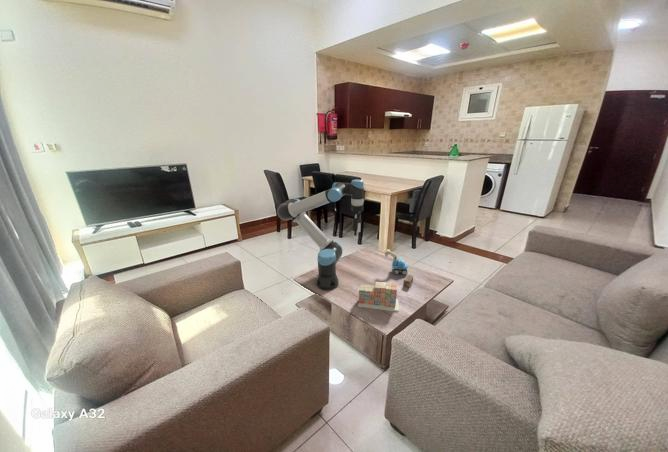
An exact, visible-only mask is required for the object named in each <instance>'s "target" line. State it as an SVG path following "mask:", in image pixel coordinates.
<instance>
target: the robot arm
mask: <svg viewBox="0 0 668 452" xmlns="http://www.w3.org/2000/svg"><path fill="white" fill-rule="evenodd" d="M364 191H365V184H364V180H363V179H352V180H351V182H341V181H340V182H339V181H337V182H333V184H332V186H331V188H329V189H327V190H324V191H322V192H319V193H316V194H314V195H311V196H308V197H306V198H302V199H299V198H295V197H294V198H290V199H288V200H286V201H284V202H282V203H281V204H279V205H278V207H277V210H276V214H277V216H278V218H279V219H280V220H282V221H289V220H291V221H292V222H293V223H297V224H298V225H299V227H301V229H302V230H303V231H304V232H305V233H306V234H307V235H308V237H310V239H311V240H312V241H313V242H314V243H315V244H316V246H318V248H319V252H318V253H317V258H316V259H317V268H318V269H317V271H318V272H317V273H318V274H317V277H316V282H315V283H316V285H315V286H316V287H317V288H318V289H320V290H323V291H332V290H334V289H336V288H338V286H339V282H340V281H339V278H338V275H337V269H336V267H337V266H336V265H337V264H338V262H339V260H340V259H341V257H342V255H343V251H344V249H343V247H342V245H341V244H340V243H339V242H338V241H337V242H336V241H334V240H333V239H331V238H330V239H329V238H328V237H327V236H326V234H325V233H324V232H323V231H322V230H321V229H320V228H319V227H318V225H316V223H315V222H313V220H312V219H311V218H310V217H309V215H307V213H306V212H308V211H312V210H314V209H316V208H319V207H321V206H324V205H327V204H330V203H335V202H337V201H340V200H341V199H342V197H344V196H351V201H350V202H351V211H352V212H354V213H353V226H352V229H351V230H352V233H353V241H358V238H359V236H358V235H359V233H361V223H363V222H362V215H361V213H362V212H363V211H364V202H365V199H364V196H365V195H364V193H365V192H364Z"/></svg>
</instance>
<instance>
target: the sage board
mask: <svg viewBox="0 0 668 452" xmlns="http://www.w3.org/2000/svg"><path fill="white" fill-rule="evenodd" d="M357 307H360V308H367V309H375V310H383V311H390V312H399V299H398V298H396V306H395V308H393V307H386V306H380V305H371V304H364V303H359V302H358V304H357Z"/></svg>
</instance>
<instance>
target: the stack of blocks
mask: <svg viewBox="0 0 668 452" xmlns="http://www.w3.org/2000/svg"><path fill="white" fill-rule="evenodd" d="M397 286H398V284H397V283H391V282H385V281H384V282H383V281H381V282H380V281H375V283H374V285H369V284H363V283H362V284H359V290H358V304H359V303H364V304H371V305H380V306H386V307H393V308H395V306H396V299H397V295H398V294H397V293H398V287H397Z"/></svg>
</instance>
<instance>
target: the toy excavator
mask: <svg viewBox="0 0 668 452" xmlns="http://www.w3.org/2000/svg"><path fill="white" fill-rule="evenodd" d="M384 255H385V258H387V257H388V256H389V255H390V256H392V257H393V260H392V262H391V267H392V269H393V273H394V274H395V275H399V274H400V273H401V275H402V276H407V274H408V269H409V264H408V263H407V262H405V260H404V258H402V257H398V256H397V254H396V253H395V252H393V251H391V249H388V248H387V249H386V250H385V252H384Z"/></svg>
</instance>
